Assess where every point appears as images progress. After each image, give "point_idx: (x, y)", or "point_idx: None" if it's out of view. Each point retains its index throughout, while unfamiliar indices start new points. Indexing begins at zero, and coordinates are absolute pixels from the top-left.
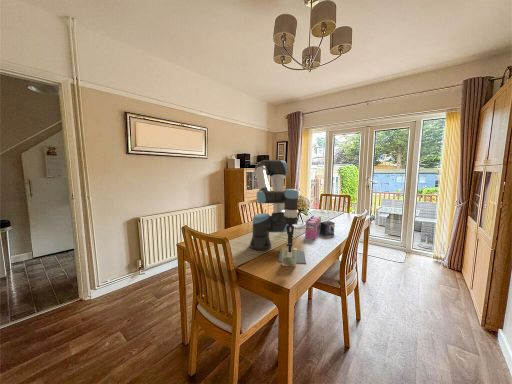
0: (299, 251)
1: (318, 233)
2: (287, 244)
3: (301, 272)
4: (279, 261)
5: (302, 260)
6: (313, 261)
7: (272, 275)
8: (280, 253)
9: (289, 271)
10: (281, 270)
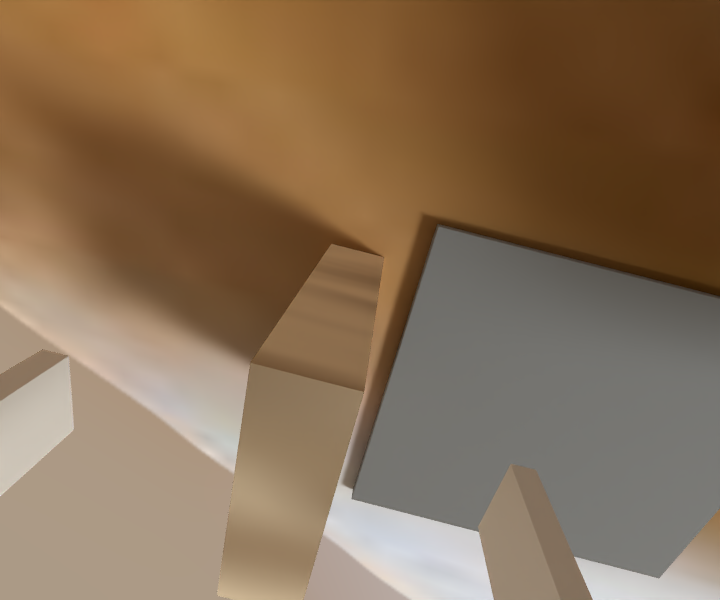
0: (666, 538)
1: None
2: (540, 545)
3: (178, 399)
4: (436, 234)
5: (415, 489)
6: (403, 559)
7: (51, 55)
8: (698, 307)
9: (184, 294)
10: (197, 207)
